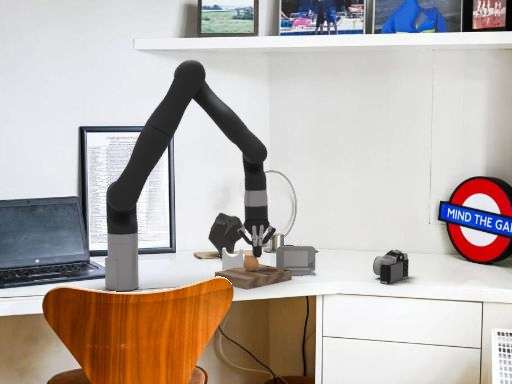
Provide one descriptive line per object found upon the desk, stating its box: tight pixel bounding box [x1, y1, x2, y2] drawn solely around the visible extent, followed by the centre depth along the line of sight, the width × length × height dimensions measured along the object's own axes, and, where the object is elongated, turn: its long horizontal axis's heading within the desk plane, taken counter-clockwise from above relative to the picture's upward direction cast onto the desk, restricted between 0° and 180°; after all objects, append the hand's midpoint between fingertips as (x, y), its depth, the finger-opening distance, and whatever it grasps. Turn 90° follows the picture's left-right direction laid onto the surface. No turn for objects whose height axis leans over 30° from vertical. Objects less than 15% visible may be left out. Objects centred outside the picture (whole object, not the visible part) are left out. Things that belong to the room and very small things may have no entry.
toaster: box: [275, 245, 317, 277], centre depth 228 cm, size 13×9×10 cm
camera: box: [372, 248, 409, 285], centre depth 219 cm, size 16×9×10 cm, turn 139°
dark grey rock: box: [207, 212, 244, 258], centre depth 253 cm, size 14×15×18 cm
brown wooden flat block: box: [214, 263, 293, 290], centre depth 216 cm, size 20×15×3 cm
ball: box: [243, 255, 260, 271], centre depth 216 cm, size 5×5×5 cm
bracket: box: [221, 247, 246, 271], centre depth 239 cm, size 13×7×8 cm, turn 177°
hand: (257, 257), depth 216 cm, fingers closed
